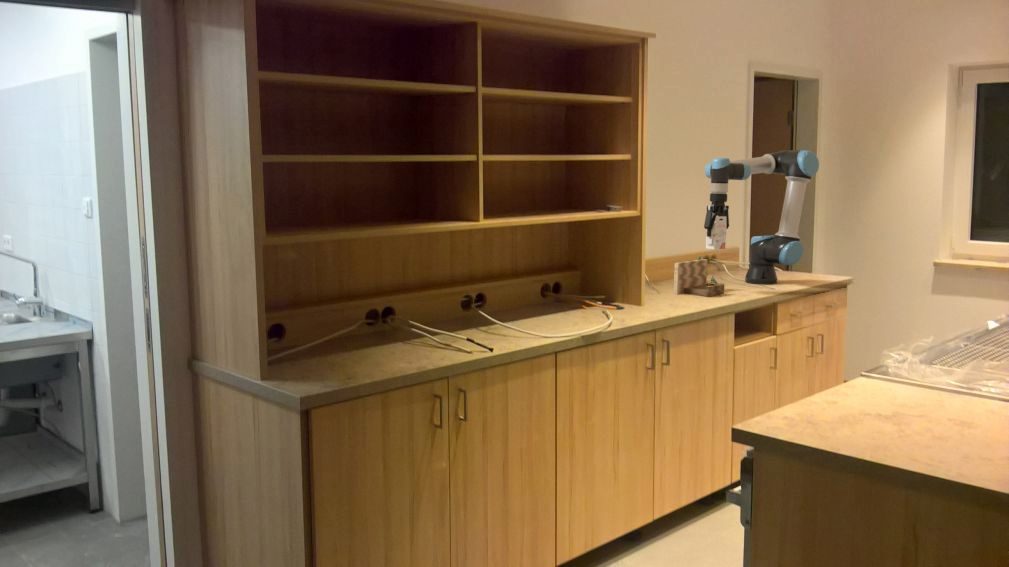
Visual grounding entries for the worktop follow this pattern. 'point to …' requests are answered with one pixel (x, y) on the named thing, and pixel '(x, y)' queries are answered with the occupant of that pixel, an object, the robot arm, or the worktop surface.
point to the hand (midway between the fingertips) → (715, 243)
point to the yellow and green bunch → (711, 278)
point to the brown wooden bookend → (694, 279)
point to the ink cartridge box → (718, 234)
